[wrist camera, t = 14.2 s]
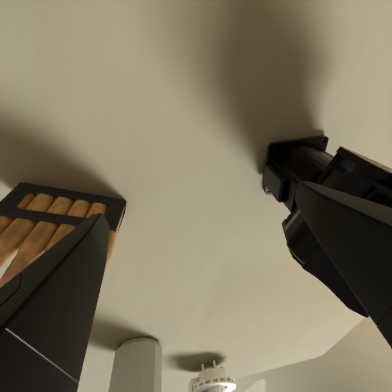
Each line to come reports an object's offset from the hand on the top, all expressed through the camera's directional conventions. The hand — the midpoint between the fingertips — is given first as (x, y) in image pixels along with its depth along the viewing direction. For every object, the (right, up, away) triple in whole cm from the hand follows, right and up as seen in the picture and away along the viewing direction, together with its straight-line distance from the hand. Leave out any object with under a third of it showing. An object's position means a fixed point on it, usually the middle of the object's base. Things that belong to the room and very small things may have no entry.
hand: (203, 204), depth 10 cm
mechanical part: (+3, -46, +47) cm, 66 cm away
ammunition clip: (-14, 0, +14) cm, 20 cm away
